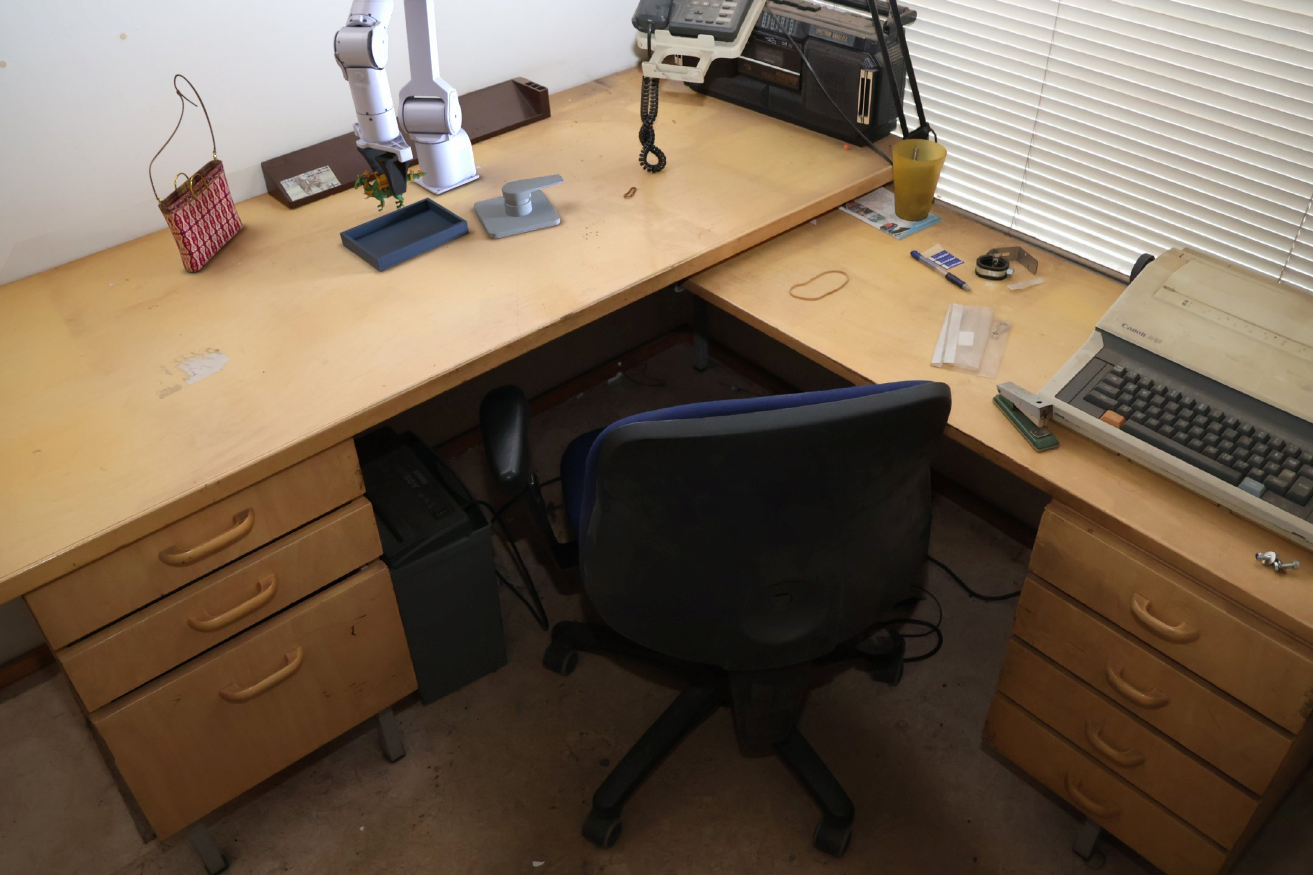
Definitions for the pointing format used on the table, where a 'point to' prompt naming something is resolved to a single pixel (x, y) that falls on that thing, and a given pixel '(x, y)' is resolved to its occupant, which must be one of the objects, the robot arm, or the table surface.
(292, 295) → the table surface
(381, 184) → the figurine
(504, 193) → the shower valve
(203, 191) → the handbag
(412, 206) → the tray
